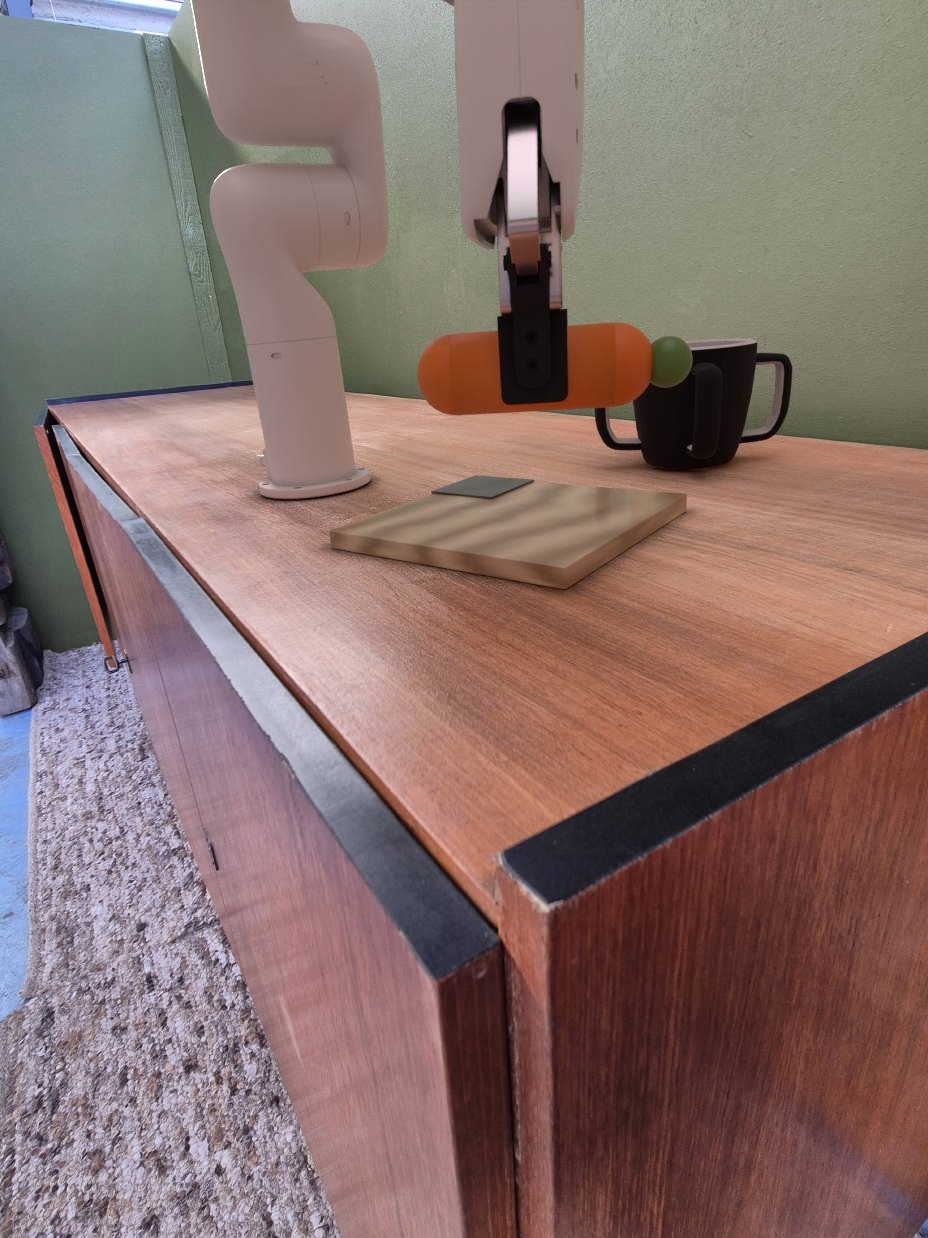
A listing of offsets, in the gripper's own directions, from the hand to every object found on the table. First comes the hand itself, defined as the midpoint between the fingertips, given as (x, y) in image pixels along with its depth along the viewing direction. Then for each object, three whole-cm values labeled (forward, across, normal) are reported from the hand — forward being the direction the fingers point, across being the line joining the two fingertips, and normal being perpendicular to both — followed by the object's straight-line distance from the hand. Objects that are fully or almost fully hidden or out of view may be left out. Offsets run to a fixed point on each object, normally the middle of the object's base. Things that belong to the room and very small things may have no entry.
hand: (537, 392), depth 37 cm
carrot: (+1, -1, 0) cm, 1 cm away
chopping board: (+13, -18, -3) cm, 23 cm away
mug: (+13, -41, +14) cm, 45 cm away
